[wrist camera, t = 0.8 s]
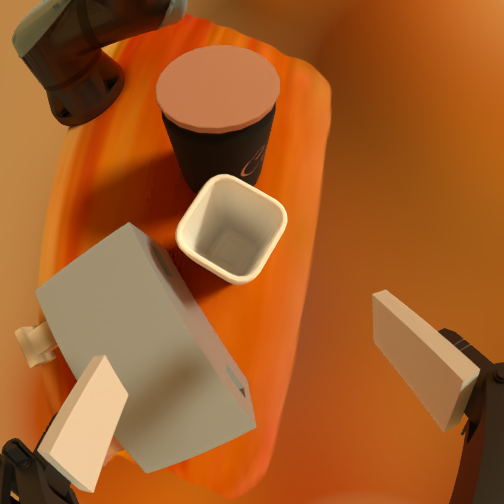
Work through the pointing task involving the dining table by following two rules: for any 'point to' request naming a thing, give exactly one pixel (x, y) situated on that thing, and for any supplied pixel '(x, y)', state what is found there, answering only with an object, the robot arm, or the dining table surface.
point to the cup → (231, 228)
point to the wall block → (148, 348)
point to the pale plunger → (37, 344)
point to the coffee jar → (218, 112)
